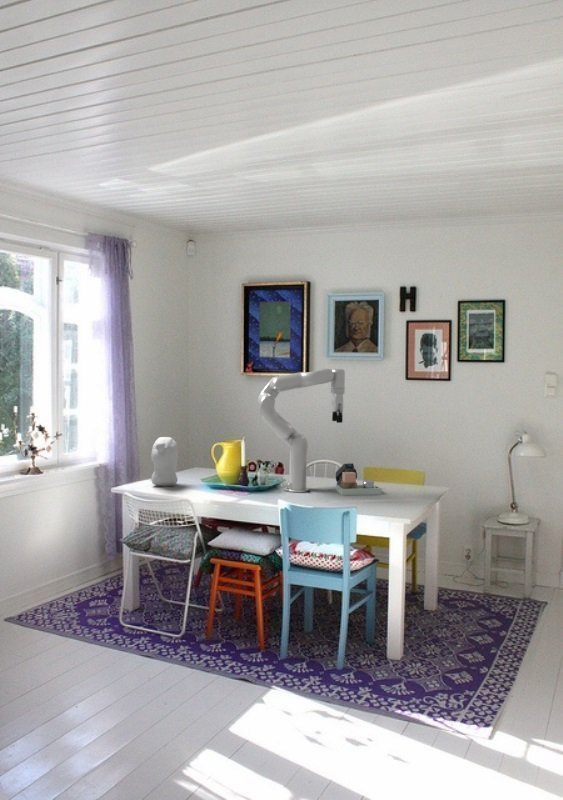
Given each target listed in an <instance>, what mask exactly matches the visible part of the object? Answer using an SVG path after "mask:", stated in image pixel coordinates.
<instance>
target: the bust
mask: <svg viewBox="0 0 563 800" xmlns="http://www.w3.org/2000/svg"><path fill="white" fill-rule="evenodd" d="M178 457H179V450H178V442H177V441H175V440H174V438H173V437H169V436H161V437H158V438H157V439H156V440H155V442H154V443H153V445H152V450H151V455H150V459H151V462H152V463H153V473H152V475H151V483H152V485H155V487H156V486H157V487H173V486H176V485H177V483H178V479H179V478H178V476H177V473H176V472H177V469H178V459H179V458H178Z"/></svg>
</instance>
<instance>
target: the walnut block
mask: <svg viewBox="0 0 563 800" xmlns="http://www.w3.org/2000/svg"><path fill="white" fill-rule="evenodd" d="M357 485H358V482H356V483H344V482H343V481H341V488H343V489H357Z"/></svg>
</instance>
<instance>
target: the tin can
mask: <svg viewBox="0 0 563 800" xmlns="http://www.w3.org/2000/svg"><path fill="white" fill-rule="evenodd" d="M362 485H363V488H374V485H375V481H374V480H363V481H362Z"/></svg>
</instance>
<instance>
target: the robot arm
mask: <svg viewBox="0 0 563 800" xmlns="http://www.w3.org/2000/svg"><path fill="white" fill-rule="evenodd" d="M345 380H346V371H345V369H343V368H334V369H331V368H330V369H329V368H320V369H318V370H314V371H309V372H306V371H305V372H304V371H303V372H302V371H301V372H295V373H290V374H285V375H280V376H279V375H276V376H273V377H272V378H270V380H269V381H268V382H267V384H266V385H265V387H264V388H263V389H262V391H261V392H260V393H259V395H258V397H257V403H258V405H259V409H258V410H259V415H260V417H261V419H262V420H263V422H264V423H266V424H267V426H268V427H269V428H270V429H272V430H273V433H274V434H275V435H276V436H277V437H278V438H279V439H280V440H281V441H283V442H284V443H285V444H286V446H288V447H289V462H288V463H289V472H288V473H289V476H288V477H289V479H288V480H289V481H288V482H286V483H280V487H281V488H286V489H285V490H286V492H289V493H307V492H309V491H310V488H309V487H307V474H308V473H307V465H308V464H307V463H308V462H307V459H308V445H309V442H308V439H307V437H306V436H305V435H303V434H301V433H300V432H298V430H297V429H295V428H294V427H293V426H292V424H291V423H290V422H289V421H287V420H286V419H285V418H284V417H282V415H280V414H279V413H278V412H277V410H276V408H275V404H276V399H277V397H278V396H279V394H280V393H281V392H287V391H291V390H296V389H297V390H298V389H301V388H302V389H303V388H308V387H312V386H317V385H322V384H323V385H324V384H327V383H330V394H331V401H330V410H331V411H332V414H331V415H332V416H331V422H336V423H337V424H339V423H341V424H342V423H343V416H344V415H343V413H344V412H343V411H344V394H345V392H346V391H345V390H346V389H345V387H346V386H345Z"/></svg>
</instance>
